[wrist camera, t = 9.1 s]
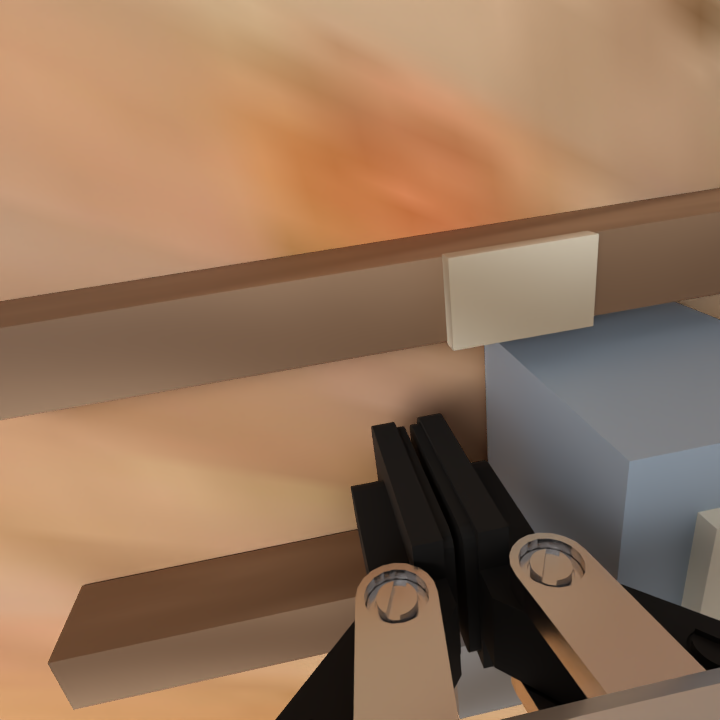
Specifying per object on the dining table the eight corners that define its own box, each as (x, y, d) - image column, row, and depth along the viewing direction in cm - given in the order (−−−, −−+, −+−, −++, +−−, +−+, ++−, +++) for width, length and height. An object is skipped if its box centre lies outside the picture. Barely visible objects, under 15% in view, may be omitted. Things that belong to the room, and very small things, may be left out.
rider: (483, 329, 13) (647, 476, 7) (665, 297, 14) (956, 413, 8) (488, 486, 15) (620, 700, 9) (646, 454, 16) (866, 640, 10)
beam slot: (-51, 307, 11) (-156, 358, 9) (980, 145, 13) (1160, 145, 11) (133, 695, 17) (105, 803, 14) (848, 536, 19) (945, 602, 16)
